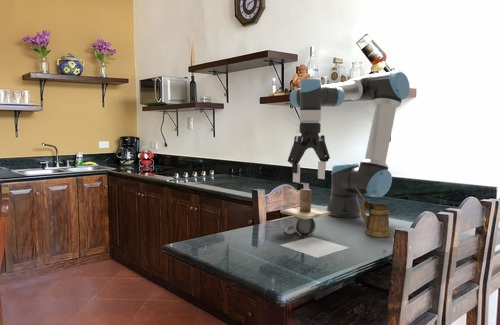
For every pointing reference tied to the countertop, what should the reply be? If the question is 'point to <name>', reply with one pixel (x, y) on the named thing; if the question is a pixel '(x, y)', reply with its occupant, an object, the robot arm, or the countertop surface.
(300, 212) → the lid
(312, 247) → the mat
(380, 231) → the wooden mug
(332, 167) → the robot arm
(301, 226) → the ceramic mug
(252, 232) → the countertop surface
